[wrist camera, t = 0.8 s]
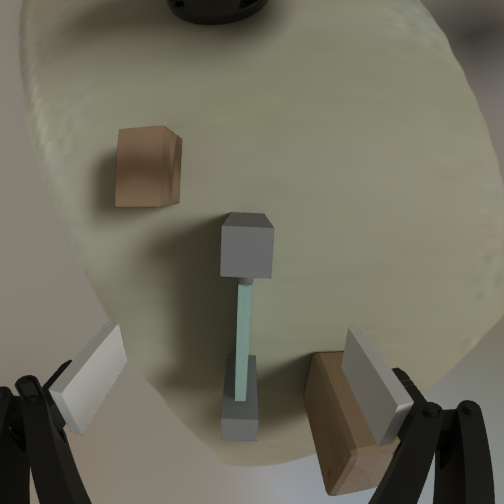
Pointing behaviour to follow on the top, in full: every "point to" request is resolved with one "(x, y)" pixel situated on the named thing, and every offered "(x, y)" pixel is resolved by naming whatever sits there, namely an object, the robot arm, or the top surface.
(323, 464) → the wooden block
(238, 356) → the gate
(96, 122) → the top surface
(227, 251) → the hinge post
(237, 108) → the top surface
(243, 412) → the post
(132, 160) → the brown rectangular block
